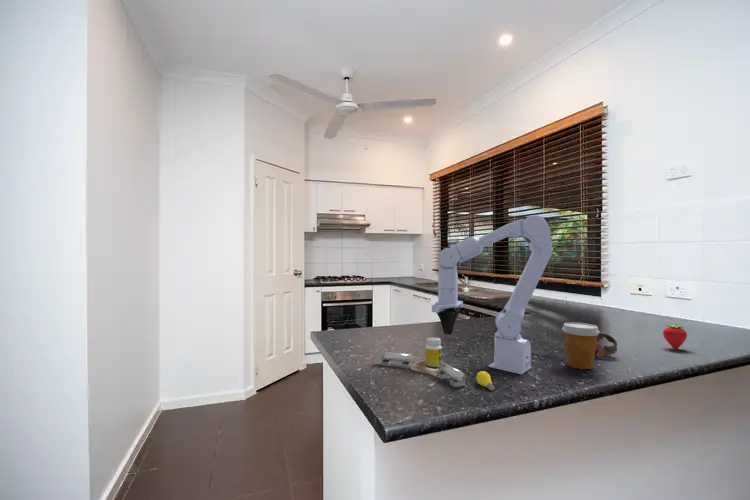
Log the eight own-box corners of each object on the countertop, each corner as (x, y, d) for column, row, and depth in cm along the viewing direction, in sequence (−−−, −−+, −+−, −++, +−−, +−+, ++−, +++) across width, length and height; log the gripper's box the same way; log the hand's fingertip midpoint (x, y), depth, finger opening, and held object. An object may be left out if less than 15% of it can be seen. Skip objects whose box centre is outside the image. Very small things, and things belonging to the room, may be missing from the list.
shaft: (436, 376, 95) (436, 362, 95) (446, 374, 96) (446, 361, 96) (455, 388, 87) (456, 373, 87) (466, 386, 88) (466, 371, 88)
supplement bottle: (441, 371, 99) (441, 341, 99) (424, 370, 100) (424, 340, 100) (441, 366, 103) (442, 337, 104) (425, 365, 104) (425, 336, 105)
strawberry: (657, 347, 126) (657, 319, 126) (673, 346, 128) (673, 318, 128) (675, 352, 121) (675, 322, 121) (692, 350, 123) (692, 321, 123)
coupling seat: (448, 370, 100) (448, 365, 100) (434, 376, 95) (435, 370, 95) (424, 363, 106) (425, 359, 106) (410, 369, 101) (410, 364, 101)
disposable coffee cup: (602, 366, 105) (602, 325, 105) (595, 374, 98) (595, 330, 98) (566, 359, 111) (566, 321, 111) (557, 366, 104) (558, 325, 104)
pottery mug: (609, 353, 121) (619, 335, 117) (611, 372, 113) (621, 354, 109) (570, 340, 125) (578, 322, 121) (570, 358, 118) (578, 340, 114)
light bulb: (482, 381, 92) (488, 369, 91) (495, 396, 86) (501, 384, 85) (471, 379, 90) (477, 367, 90) (483, 394, 85) (490, 381, 84)
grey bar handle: (412, 365, 104) (412, 353, 104) (410, 368, 101) (410, 356, 101) (382, 362, 107) (382, 350, 107) (379, 365, 104) (379, 353, 104)
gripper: (449, 286, 116) (449, 328, 115) (422, 289, 105) (422, 335, 105) (468, 287, 111) (468, 331, 111) (443, 291, 100) (443, 339, 100)
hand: (447, 333), depth 107 cm, fingers closed
